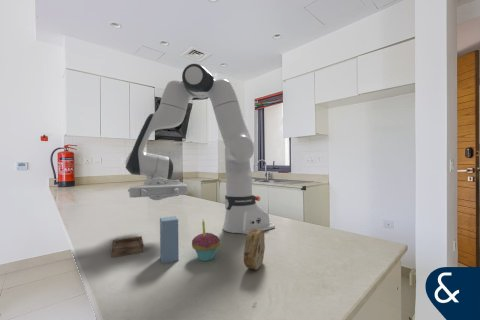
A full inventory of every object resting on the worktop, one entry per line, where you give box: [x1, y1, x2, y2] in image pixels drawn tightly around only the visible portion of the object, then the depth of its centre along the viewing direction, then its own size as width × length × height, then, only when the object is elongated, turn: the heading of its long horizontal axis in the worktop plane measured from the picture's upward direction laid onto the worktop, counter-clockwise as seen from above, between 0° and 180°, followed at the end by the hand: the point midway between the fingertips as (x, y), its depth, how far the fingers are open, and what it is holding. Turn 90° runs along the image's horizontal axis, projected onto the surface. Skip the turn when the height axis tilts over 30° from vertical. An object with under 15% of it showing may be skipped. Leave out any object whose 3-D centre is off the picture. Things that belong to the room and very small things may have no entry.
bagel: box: [243, 229, 266, 271], centre depth 64 cm, size 10×4×10 cm, turn 157°
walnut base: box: [110, 235, 144, 258], centre depth 77 cm, size 9×9×2 cm
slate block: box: [159, 215, 180, 264], centre depth 70 cm, size 4×4×12 cm
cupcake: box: [191, 219, 221, 262], centre depth 70 cm, size 9×8×12 cm
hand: (162, 192), depth 80 cm, fingers open, 8 cm apart
